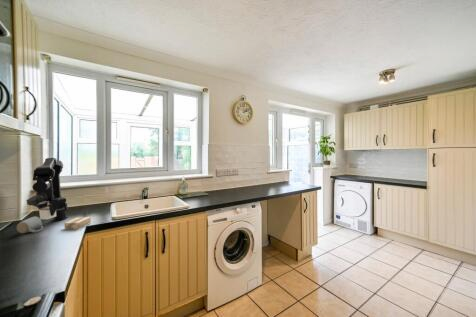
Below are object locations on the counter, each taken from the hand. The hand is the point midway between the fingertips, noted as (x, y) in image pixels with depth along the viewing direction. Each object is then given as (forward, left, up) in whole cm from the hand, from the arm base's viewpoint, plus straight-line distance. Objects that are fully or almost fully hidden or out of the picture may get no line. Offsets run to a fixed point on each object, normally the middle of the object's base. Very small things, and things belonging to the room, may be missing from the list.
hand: (48, 215), depth 112 cm
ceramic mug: (-14, +2, -10) cm, 18 cm away
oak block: (+8, +10, -10) cm, 17 cm away
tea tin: (0, 0, -1) cm, 1 cm away
